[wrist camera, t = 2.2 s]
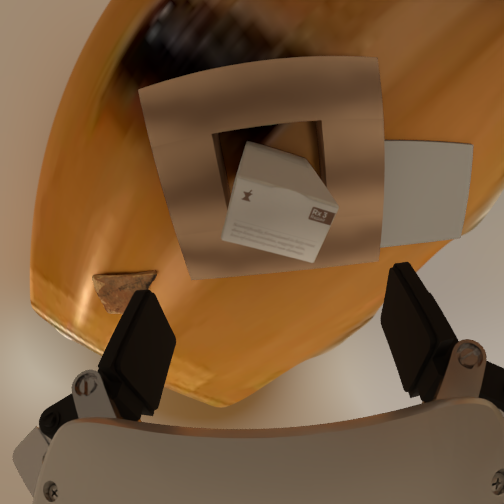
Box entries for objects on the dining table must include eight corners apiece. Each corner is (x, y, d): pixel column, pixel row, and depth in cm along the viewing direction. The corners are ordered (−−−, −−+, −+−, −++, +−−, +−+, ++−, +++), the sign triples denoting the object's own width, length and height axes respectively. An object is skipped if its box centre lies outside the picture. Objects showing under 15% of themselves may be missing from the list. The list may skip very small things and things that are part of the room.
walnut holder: (151, 89, 21) (138, 89, 19) (365, 60, 19) (377, 57, 16) (197, 264, 32) (191, 280, 30) (370, 246, 30) (378, 261, 27)
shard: (160, 267, 33) (156, 275, 32) (176, 311, 37) (173, 320, 36) (94, 270, 34) (88, 278, 33) (114, 310, 38) (109, 318, 37)
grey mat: (381, 140, 23) (383, 141, 23) (470, 143, 22) (473, 145, 21) (378, 245, 29) (379, 247, 29) (458, 236, 28) (460, 238, 27)
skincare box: (235, 180, 26) (213, 245, 16) (247, 136, 24) (231, 173, 14) (295, 197, 27) (312, 270, 17) (310, 156, 25) (341, 207, 14)
